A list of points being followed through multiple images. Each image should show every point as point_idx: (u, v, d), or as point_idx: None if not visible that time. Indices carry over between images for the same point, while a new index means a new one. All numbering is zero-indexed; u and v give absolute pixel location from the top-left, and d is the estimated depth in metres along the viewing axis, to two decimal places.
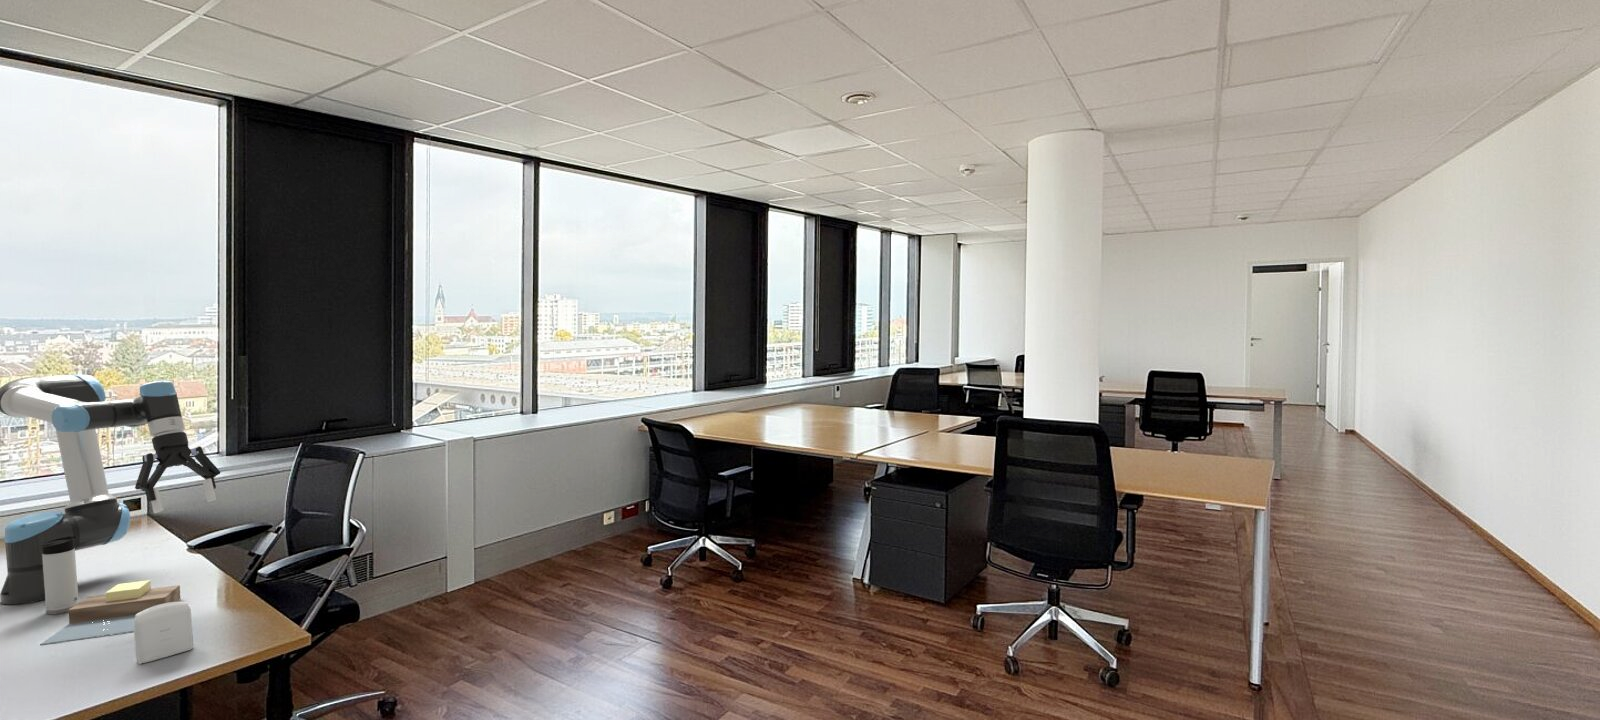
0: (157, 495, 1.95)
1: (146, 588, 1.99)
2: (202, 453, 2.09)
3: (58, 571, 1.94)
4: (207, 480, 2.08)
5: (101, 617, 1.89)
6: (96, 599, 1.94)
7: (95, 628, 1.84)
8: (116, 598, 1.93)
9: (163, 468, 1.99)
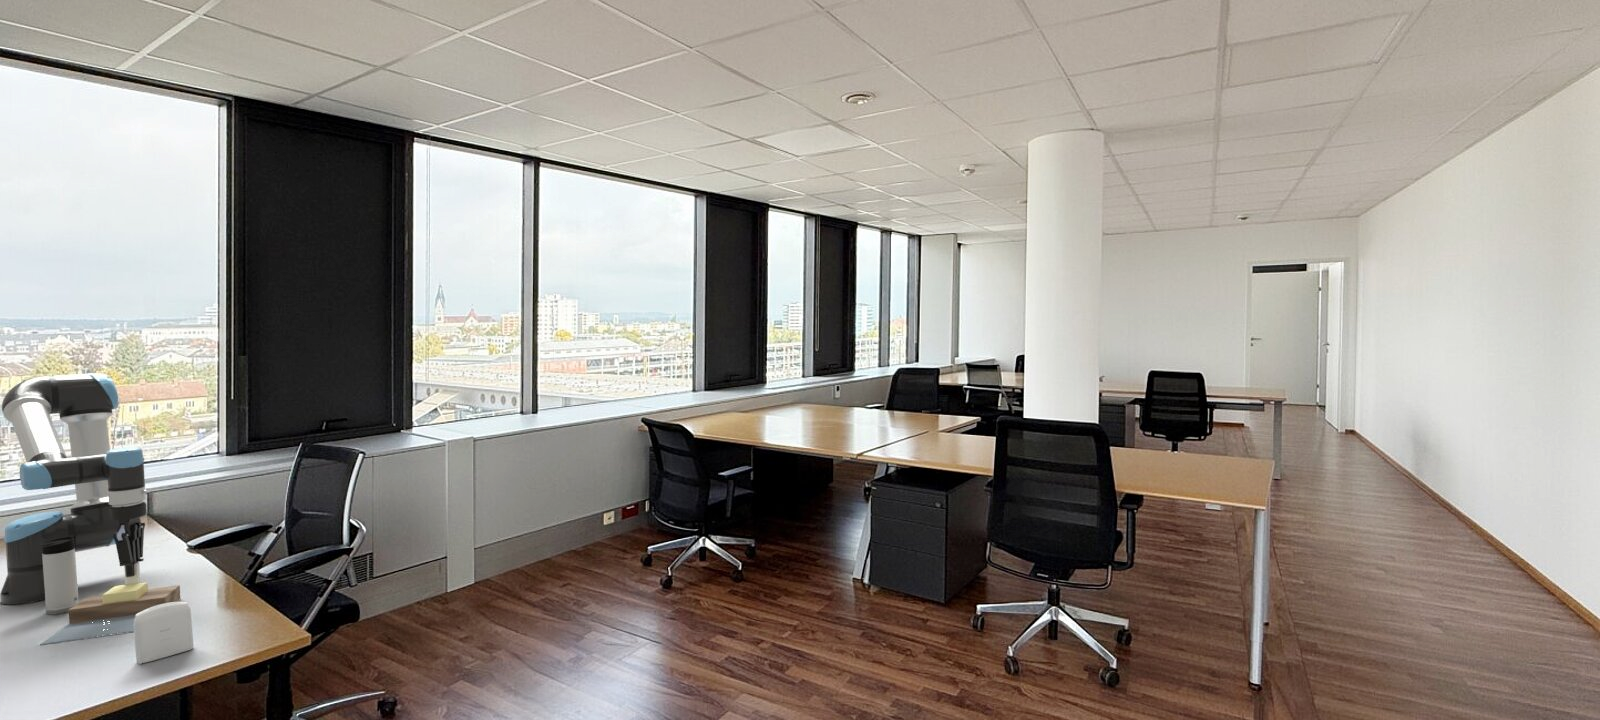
0: (137, 571, 1.99)
1: (143, 590, 1.97)
2: (143, 530, 2.03)
3: (58, 571, 1.94)
4: None
5: (101, 617, 1.89)
6: (96, 599, 1.94)
7: (95, 628, 1.84)
8: (113, 600, 1.91)
9: (133, 541, 1.98)
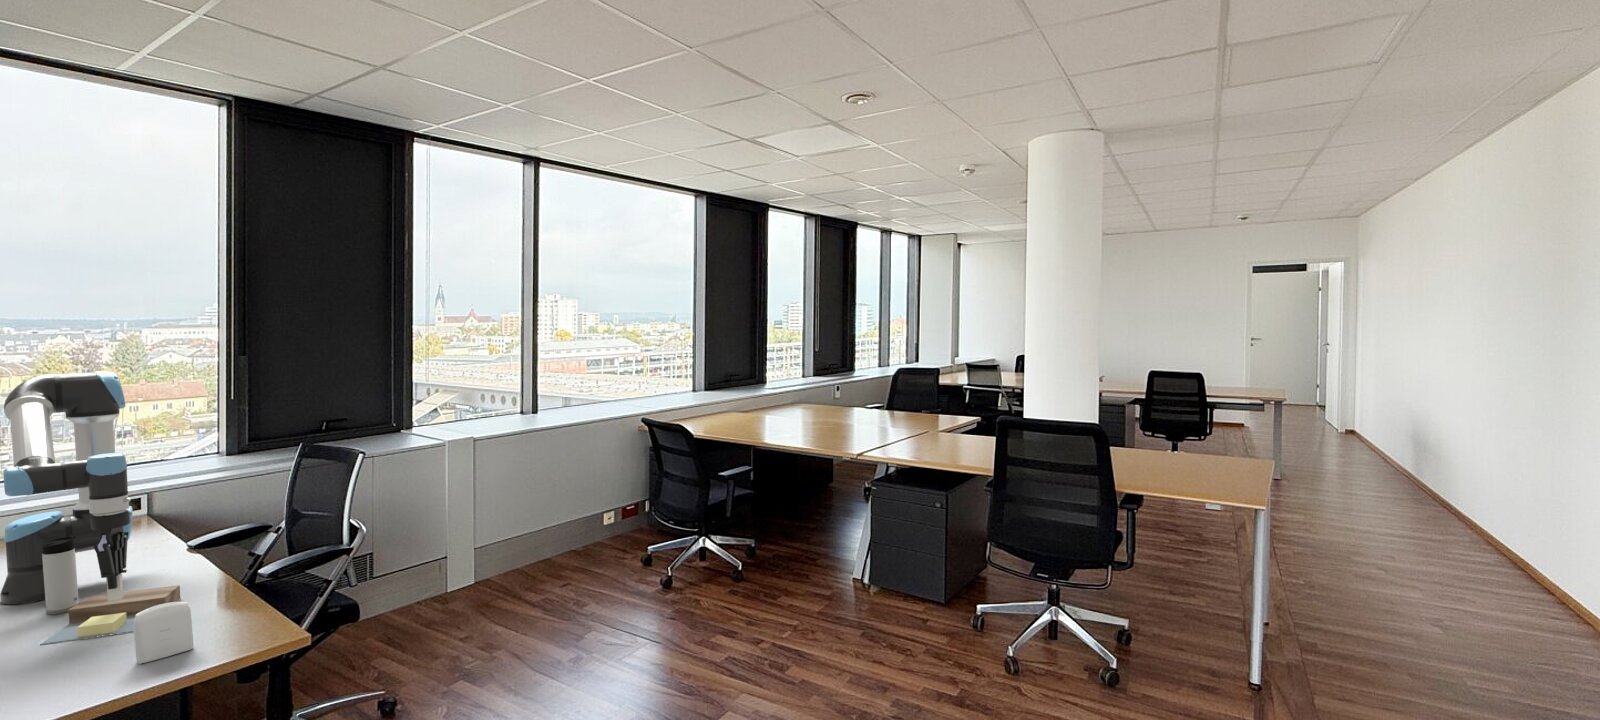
0: (120, 583, 1.90)
1: (118, 622, 1.84)
2: (126, 539, 1.94)
3: (58, 571, 1.94)
4: None
5: None
6: (96, 599, 1.94)
7: None
8: None
9: (116, 552, 1.88)
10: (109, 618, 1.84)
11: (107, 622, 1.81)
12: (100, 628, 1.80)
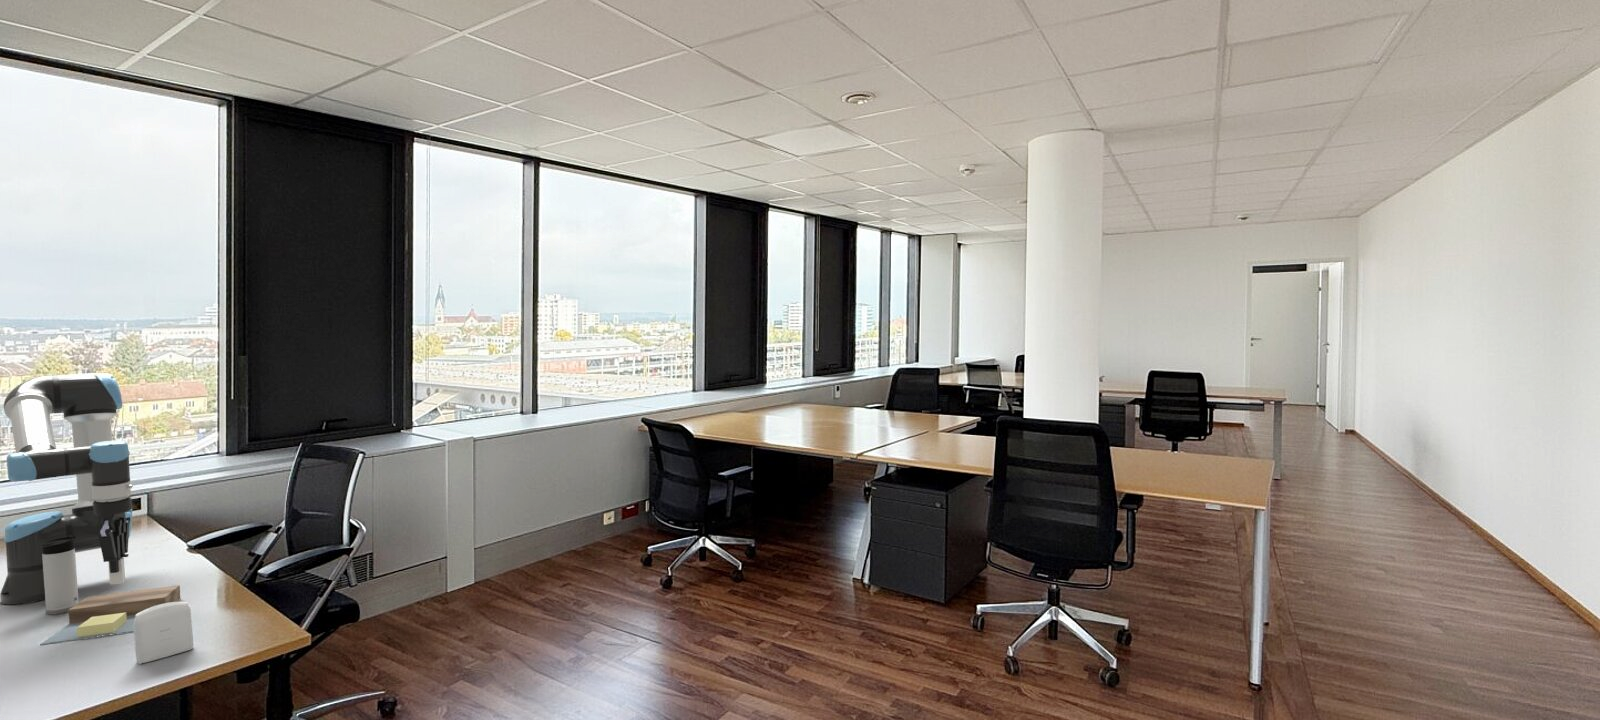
0: (122, 567, 1.94)
1: (118, 622, 1.84)
2: (128, 525, 1.99)
3: (58, 571, 1.94)
4: None
5: None
6: (96, 599, 1.94)
7: None
8: None
9: (118, 537, 1.93)
10: (109, 618, 1.84)
11: (107, 622, 1.81)
12: (100, 628, 1.80)
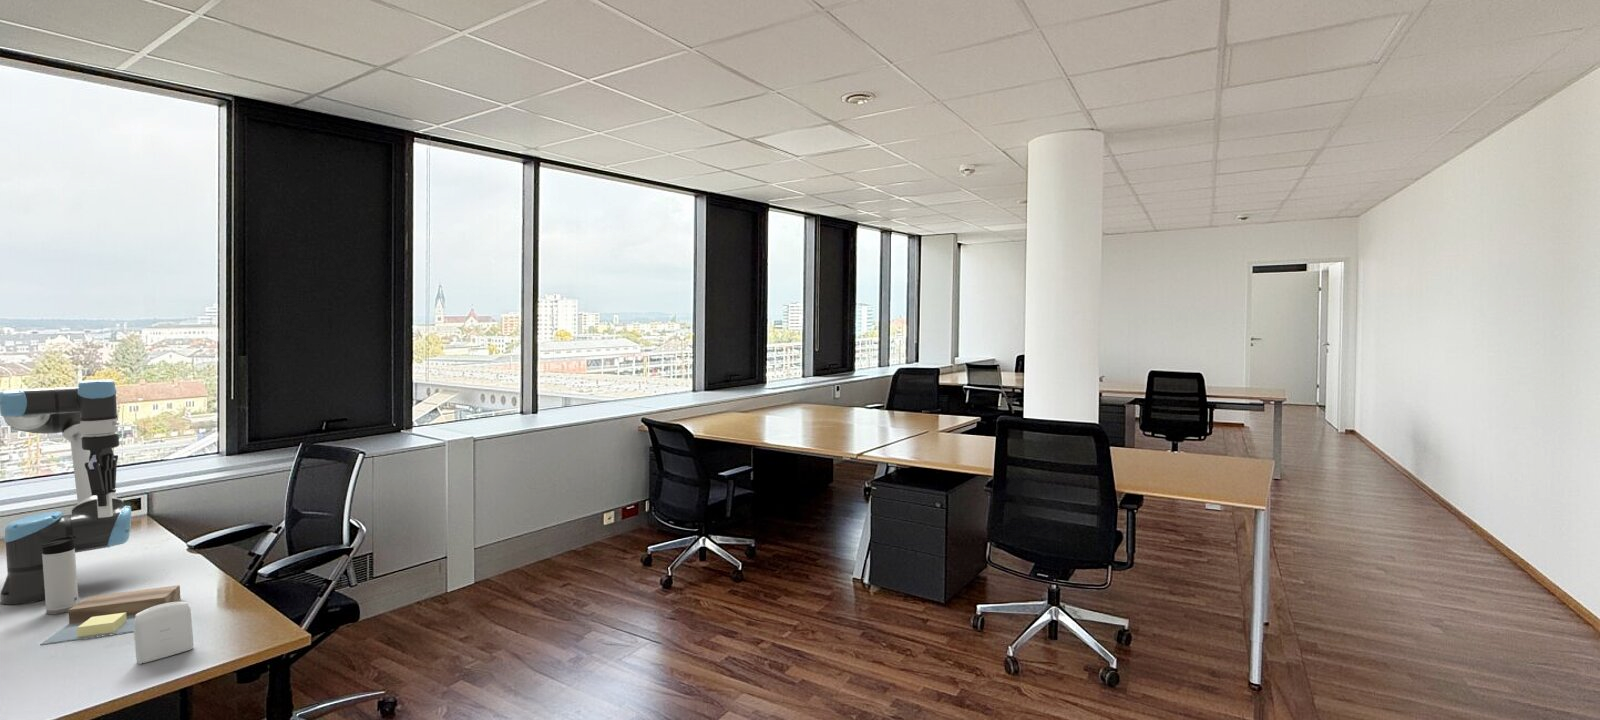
0: (109, 501, 2.02)
1: (118, 622, 1.84)
2: (116, 462, 2.06)
3: (58, 571, 1.94)
4: None
5: None
6: (96, 599, 1.94)
7: None
8: None
9: (105, 472, 2.01)
10: (109, 618, 1.84)
11: (107, 622, 1.81)
12: (100, 628, 1.80)
